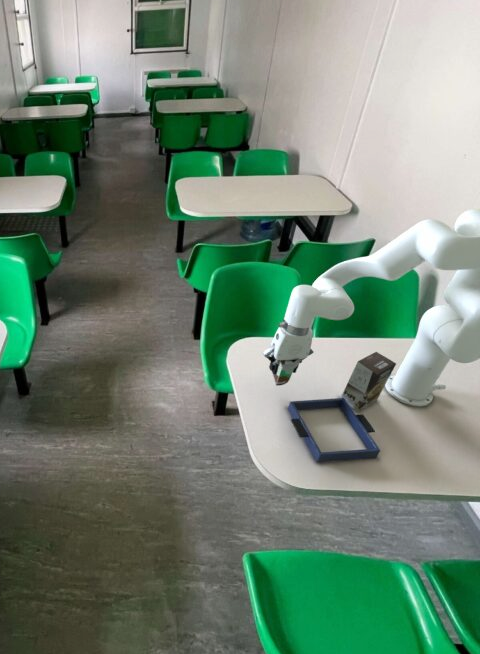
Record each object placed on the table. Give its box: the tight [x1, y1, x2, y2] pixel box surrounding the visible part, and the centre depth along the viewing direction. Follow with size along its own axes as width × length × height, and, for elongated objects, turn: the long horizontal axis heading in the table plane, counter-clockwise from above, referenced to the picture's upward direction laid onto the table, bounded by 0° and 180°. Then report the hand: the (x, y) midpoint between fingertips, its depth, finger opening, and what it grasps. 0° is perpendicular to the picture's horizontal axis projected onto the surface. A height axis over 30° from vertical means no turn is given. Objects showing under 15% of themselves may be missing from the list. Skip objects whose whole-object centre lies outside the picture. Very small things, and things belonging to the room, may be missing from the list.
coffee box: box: [340, 351, 397, 412], centre depth 127 cm, size 9×6×16 cm
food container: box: [271, 352, 300, 386], centre depth 131 cm, size 12×6×10 cm, turn 172°
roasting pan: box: [287, 397, 382, 463], centre depth 121 cm, size 21×19×4 cm
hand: (282, 369), depth 132 cm, fingers closed on food container, 5 cm apart
